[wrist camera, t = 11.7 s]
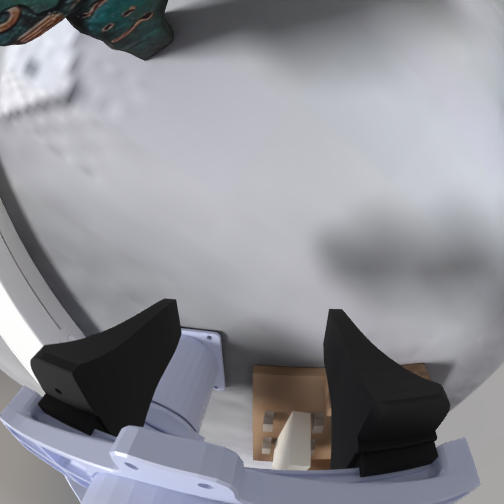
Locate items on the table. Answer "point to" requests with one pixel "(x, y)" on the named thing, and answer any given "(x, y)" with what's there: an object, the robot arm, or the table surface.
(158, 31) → the ceramic cat
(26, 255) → the laminator
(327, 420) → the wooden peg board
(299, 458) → the door
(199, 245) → the table surface
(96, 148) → the table surface
